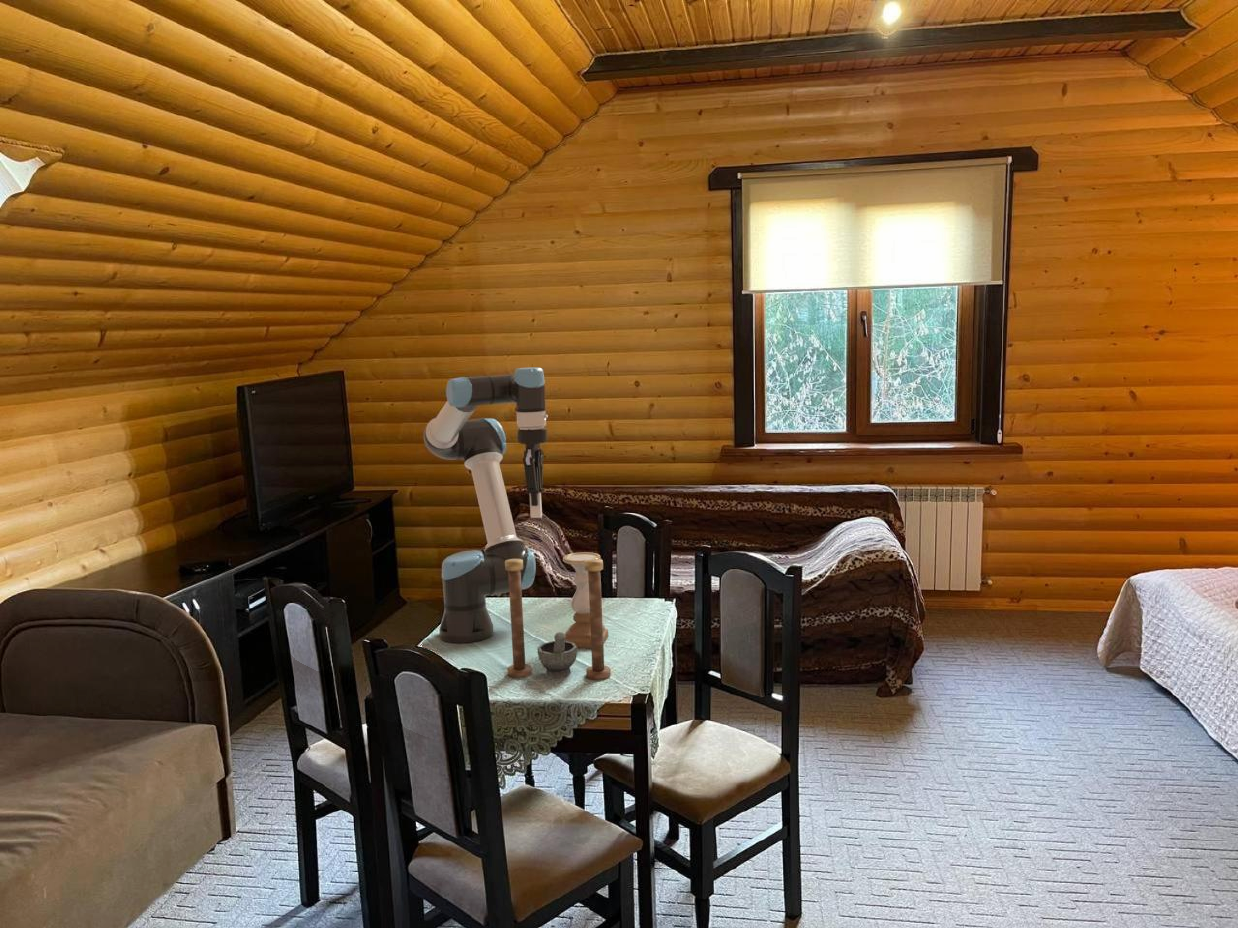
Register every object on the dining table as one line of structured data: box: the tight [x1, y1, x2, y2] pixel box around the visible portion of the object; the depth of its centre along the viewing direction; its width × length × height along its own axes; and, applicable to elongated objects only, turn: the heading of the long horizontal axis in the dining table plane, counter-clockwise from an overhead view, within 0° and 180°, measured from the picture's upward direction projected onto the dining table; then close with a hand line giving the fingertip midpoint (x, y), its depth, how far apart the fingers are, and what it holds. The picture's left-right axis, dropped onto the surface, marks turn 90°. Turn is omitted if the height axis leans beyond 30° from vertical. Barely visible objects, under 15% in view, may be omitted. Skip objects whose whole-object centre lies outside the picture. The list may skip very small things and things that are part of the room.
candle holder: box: [562, 551, 609, 649], centre depth 254 cm, size 11×11×24 cm
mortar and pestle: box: [537, 631, 578, 679], centre depth 231 cm, size 11×9×12 cm
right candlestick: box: [585, 558, 612, 681], centre depth 228 cm, size 6×6×29 cm
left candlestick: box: [505, 559, 533, 679], centre depth 231 cm, size 6×6×29 cm
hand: (536, 517), depth 244 cm, fingers closed
